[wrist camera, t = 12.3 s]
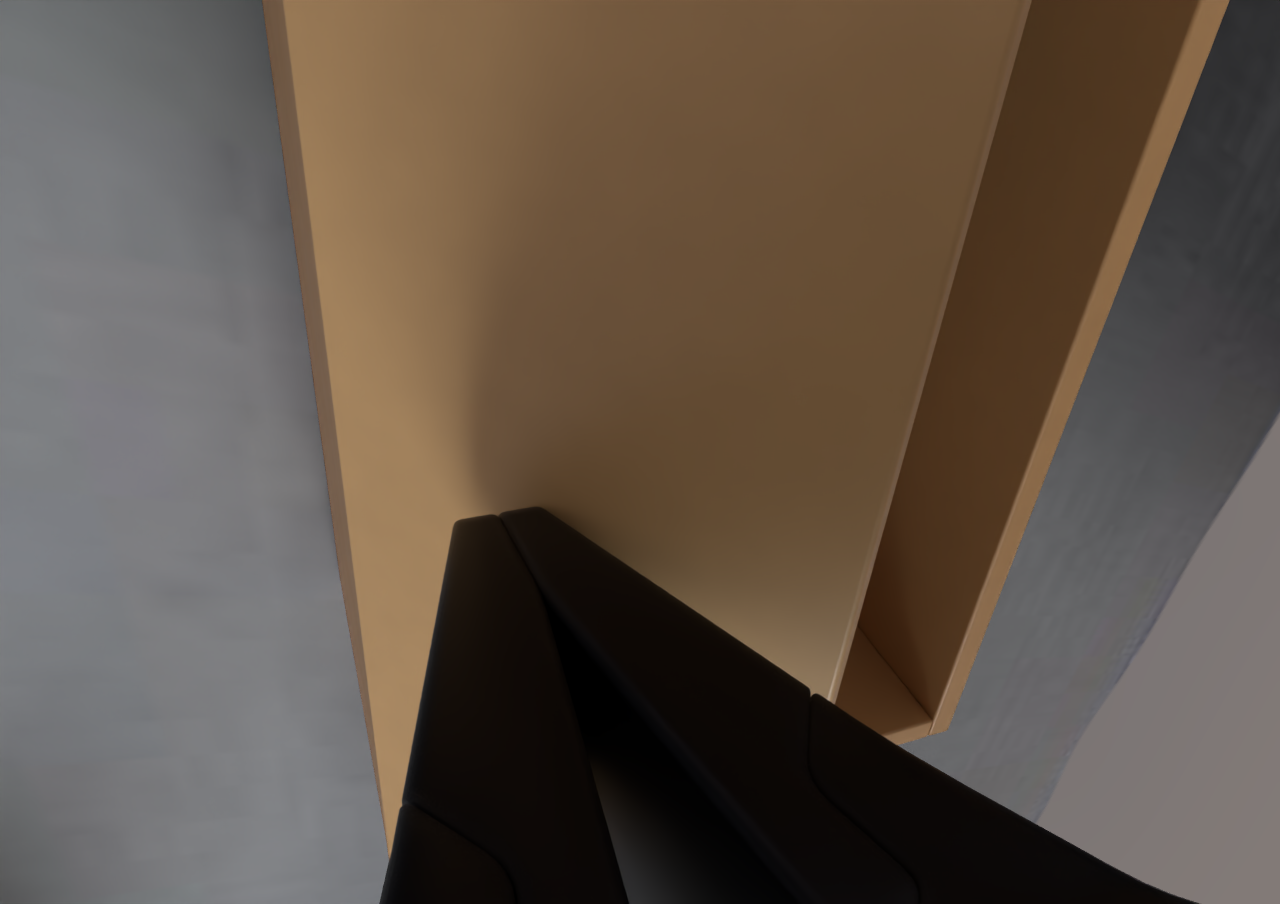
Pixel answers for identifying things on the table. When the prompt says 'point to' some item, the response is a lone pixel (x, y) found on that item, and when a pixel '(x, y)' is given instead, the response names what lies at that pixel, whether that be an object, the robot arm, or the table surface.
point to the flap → (636, 290)
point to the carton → (954, 335)
